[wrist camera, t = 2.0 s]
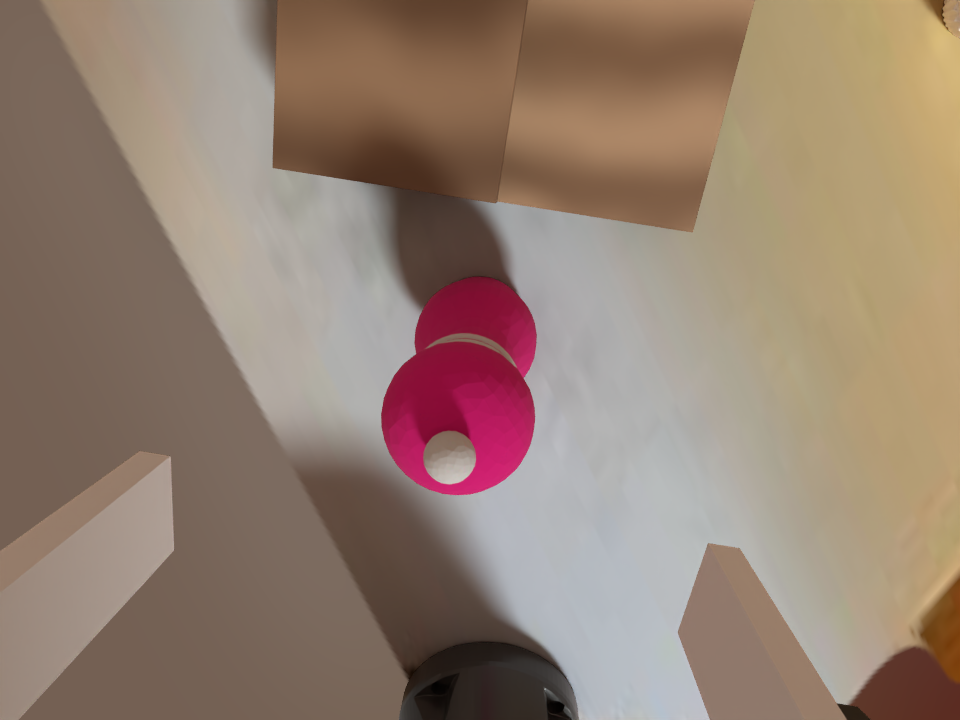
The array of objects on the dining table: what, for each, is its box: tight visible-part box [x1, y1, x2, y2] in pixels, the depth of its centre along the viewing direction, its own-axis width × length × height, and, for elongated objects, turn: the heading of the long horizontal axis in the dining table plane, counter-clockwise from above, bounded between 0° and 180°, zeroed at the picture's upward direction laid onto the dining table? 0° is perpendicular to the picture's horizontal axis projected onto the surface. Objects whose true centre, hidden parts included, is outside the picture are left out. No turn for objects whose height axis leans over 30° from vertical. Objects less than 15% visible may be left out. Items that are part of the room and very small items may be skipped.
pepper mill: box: [381, 277, 537, 495], centre depth 27 cm, size 7×7×20 cm
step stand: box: [273, 0, 755, 232], centre depth 28 cm, size 16×22×8 cm
